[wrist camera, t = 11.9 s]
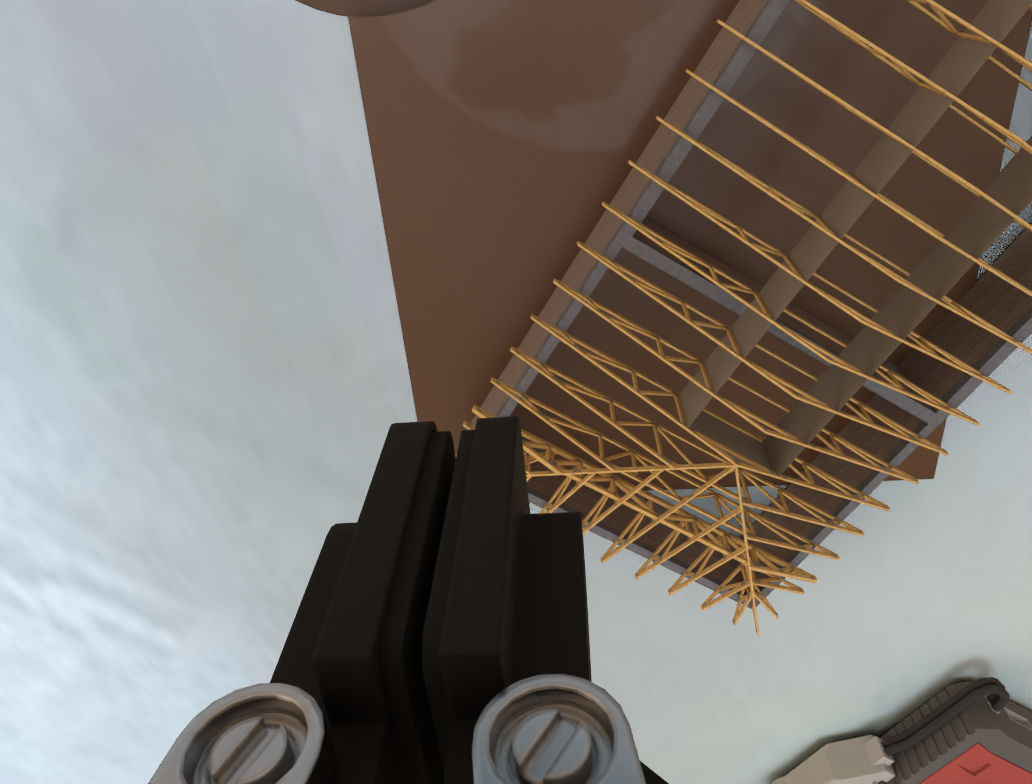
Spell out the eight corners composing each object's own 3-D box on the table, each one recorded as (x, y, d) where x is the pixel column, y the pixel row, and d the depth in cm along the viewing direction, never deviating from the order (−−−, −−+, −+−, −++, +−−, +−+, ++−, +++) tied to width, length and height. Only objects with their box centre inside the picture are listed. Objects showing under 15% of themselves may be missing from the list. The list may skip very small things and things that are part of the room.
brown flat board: (1152, -561, 17) (1158, -566, 17) (931, 475, 31) (933, 478, 31) (114, -414, 19) (109, -418, 19) (337, 500, 33) (336, 503, 33)
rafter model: (740, 574, 34) (775, 692, 28) (440, 427, 31) (416, 528, 25) (1689, -411, 18) (2167, -562, 13) (1266, -911, 15) (1659, -1386, 10)
